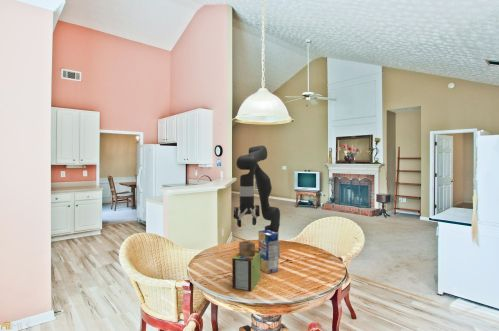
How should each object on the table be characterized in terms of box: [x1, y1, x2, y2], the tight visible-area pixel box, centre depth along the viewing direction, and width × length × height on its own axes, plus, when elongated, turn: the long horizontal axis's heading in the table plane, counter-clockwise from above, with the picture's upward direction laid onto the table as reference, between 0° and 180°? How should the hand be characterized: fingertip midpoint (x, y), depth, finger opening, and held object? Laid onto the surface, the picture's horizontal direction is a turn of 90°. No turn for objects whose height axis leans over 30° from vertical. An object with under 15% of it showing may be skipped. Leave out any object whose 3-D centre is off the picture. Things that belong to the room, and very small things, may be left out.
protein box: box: [231, 249, 261, 292], centre depth 147 cm, size 10×15×16 cm
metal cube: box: [238, 240, 256, 257], centre depth 146 cm, size 6×6×6 cm
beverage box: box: [257, 229, 279, 275], centre depth 165 cm, size 7×11×22 cm, turn 29°
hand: (246, 225), depth 146 cm, fingers open, 8 cm apart
